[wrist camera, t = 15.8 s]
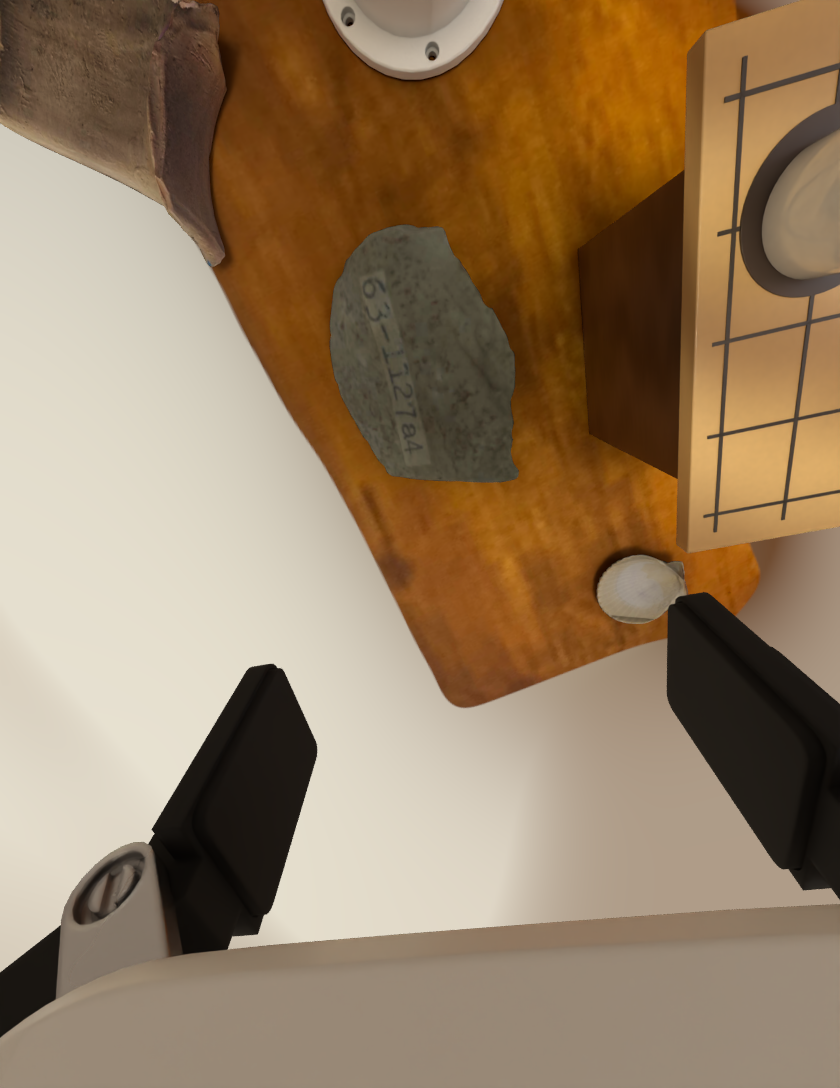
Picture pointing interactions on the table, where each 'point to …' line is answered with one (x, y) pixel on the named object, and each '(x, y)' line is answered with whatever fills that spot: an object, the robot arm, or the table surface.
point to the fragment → (121, 95)
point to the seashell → (640, 588)
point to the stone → (423, 360)
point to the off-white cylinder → (806, 213)
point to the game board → (726, 298)
